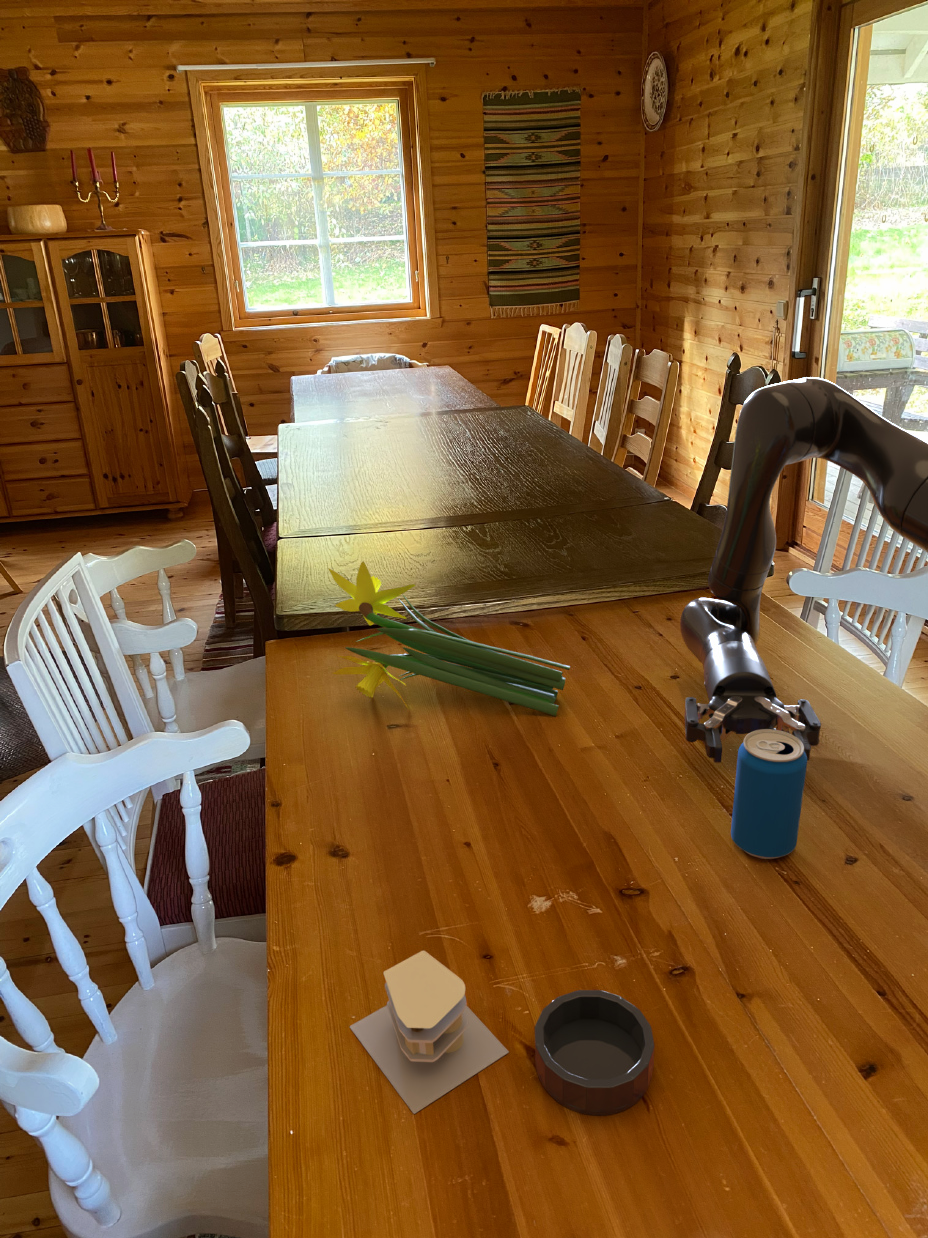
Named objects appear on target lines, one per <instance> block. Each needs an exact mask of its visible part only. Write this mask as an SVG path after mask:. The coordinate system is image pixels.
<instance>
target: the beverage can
mask: <svg viewBox="0 0 928 1238" xmlns="http://www.w3.org/2000/svg"><path fill="white" fill-rule="evenodd" d="M789 733H790V732H789ZM789 733H787V732H783V731H779V730H772V729H762V730H756V731H753V732H751V733H748V734H745V737H743V742H742V743H741V744H740V745H739V748H738V750H737V758H736V759H737V760H736V769H735V770H736V771H735V781H734V794H733V804H732V814H731V815H732V816H731V825H730V826H731V827H730V828H731V829H730V838H731V840H732V841H733V843H734V844H735V845H736V846H737V847H738V848H739V849H740V850H742V851H743V852H745V853H746V854H748V855H749V856H751V857H754V858H758V859H764V860H773V859H778V858H782V857H785V856H787V855H789V854H791V853H792V852H793V851H795V849H796V847H797V843H798V837H799V829H800V821H801V813H802V805H803V796H804V791H805V782H806V774H807V767H808V761H807V756H806V753H805V752H804V745H803V743H802V742H801V741H800V740H799V739H798V738H797V737H795V736H793V735H791V734H792V733H790V734H789Z"/></svg>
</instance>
